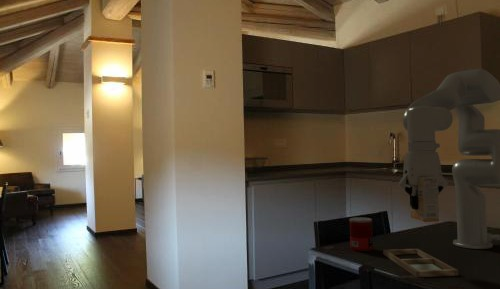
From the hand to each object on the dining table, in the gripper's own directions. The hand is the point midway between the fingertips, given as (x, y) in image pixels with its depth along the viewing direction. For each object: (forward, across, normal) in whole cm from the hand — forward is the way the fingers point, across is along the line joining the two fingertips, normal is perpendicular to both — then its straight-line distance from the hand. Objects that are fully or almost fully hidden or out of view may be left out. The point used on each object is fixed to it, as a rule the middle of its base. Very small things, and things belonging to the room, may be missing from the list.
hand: (424, 208), depth 118 cm
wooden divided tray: (+18, 0, -6) cm, 19 cm away
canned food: (+18, +11, -26) cm, 34 cm away
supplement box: (+4, 0, 0) cm, 4 cm away
